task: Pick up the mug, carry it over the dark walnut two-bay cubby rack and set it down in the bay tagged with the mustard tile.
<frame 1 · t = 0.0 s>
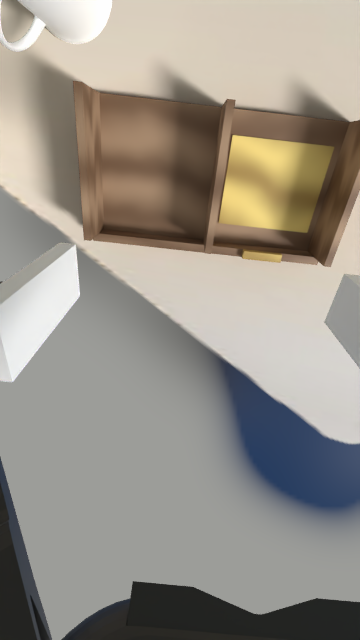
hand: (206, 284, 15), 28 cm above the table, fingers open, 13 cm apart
mug: (63, 5, 30), on the table
rack: (213, 184, 38), on the table
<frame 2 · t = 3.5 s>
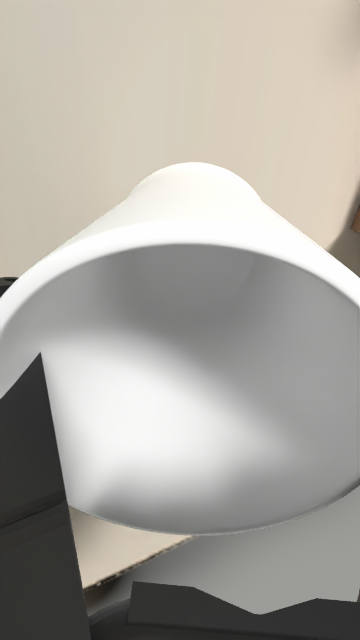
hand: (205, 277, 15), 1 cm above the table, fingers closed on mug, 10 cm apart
mug: (212, 268, 17), on the table, touching gripper
when the fingers open (5 cm above the table, at t = 9.4 s): mug drops 2 cm, resting on rack.
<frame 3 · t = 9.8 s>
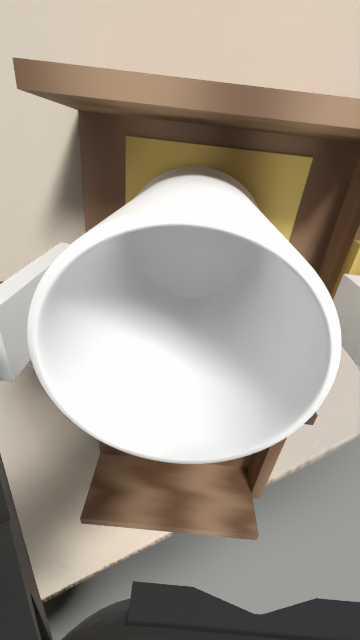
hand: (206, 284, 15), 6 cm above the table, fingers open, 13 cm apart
mug: (210, 261, 19), point 1 cm above the table, touching rack
rack: (196, 341, 23), on the table
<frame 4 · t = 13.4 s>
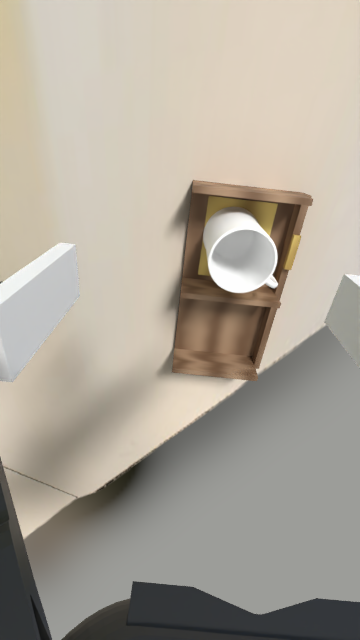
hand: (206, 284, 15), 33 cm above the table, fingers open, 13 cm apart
mug: (237, 243, 45), point 1 cm above the table, touching rack
rack: (228, 282, 49), on the table
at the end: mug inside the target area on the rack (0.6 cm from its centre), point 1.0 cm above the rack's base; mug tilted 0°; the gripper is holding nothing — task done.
